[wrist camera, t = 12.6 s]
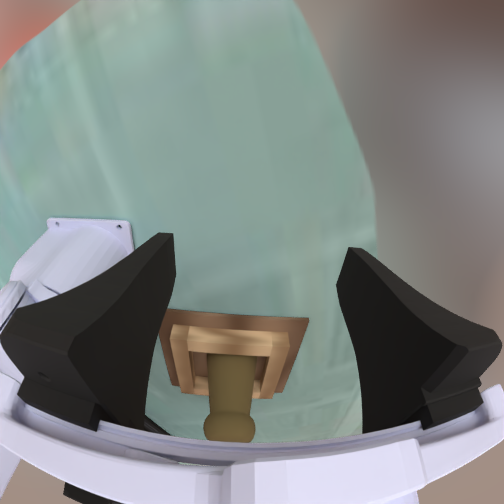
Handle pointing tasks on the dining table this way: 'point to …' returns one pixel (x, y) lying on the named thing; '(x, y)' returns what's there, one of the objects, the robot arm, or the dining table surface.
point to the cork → (230, 397)
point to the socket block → (230, 347)
